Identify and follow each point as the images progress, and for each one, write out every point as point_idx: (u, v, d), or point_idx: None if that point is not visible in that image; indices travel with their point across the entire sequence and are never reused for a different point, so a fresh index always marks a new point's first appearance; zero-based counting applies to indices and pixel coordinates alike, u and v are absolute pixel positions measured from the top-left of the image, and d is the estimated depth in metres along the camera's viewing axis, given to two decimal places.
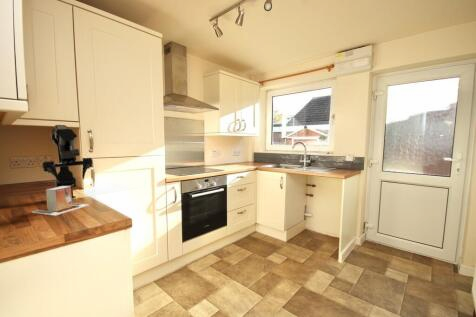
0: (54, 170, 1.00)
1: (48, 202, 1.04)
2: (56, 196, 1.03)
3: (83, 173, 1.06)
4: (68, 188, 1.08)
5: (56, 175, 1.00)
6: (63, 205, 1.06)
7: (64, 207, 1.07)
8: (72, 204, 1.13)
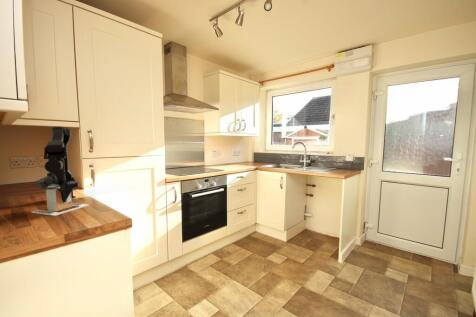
0: None
1: (48, 202, 1.04)
2: (56, 196, 1.03)
3: (62, 197, 1.05)
4: None
5: None
6: (63, 205, 1.06)
7: (64, 207, 1.07)
8: (72, 204, 1.13)
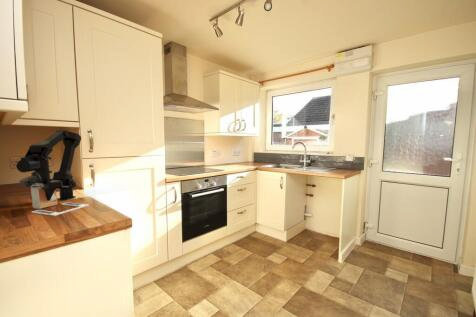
0: None
1: (33, 200, 1.07)
2: (39, 194, 1.06)
3: (46, 196, 1.08)
4: None
5: None
6: (47, 203, 1.09)
7: (48, 205, 1.10)
8: (72, 204, 1.13)
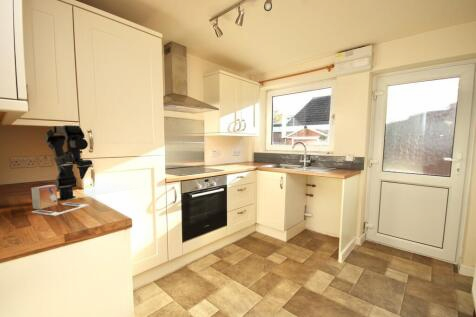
0: (64, 168, 1.17)
1: (33, 200, 1.07)
2: (39, 194, 1.06)
3: (80, 174, 1.15)
4: (52, 187, 1.11)
5: (66, 172, 1.17)
6: (48, 203, 1.09)
7: (48, 205, 1.10)
8: (72, 204, 1.13)
